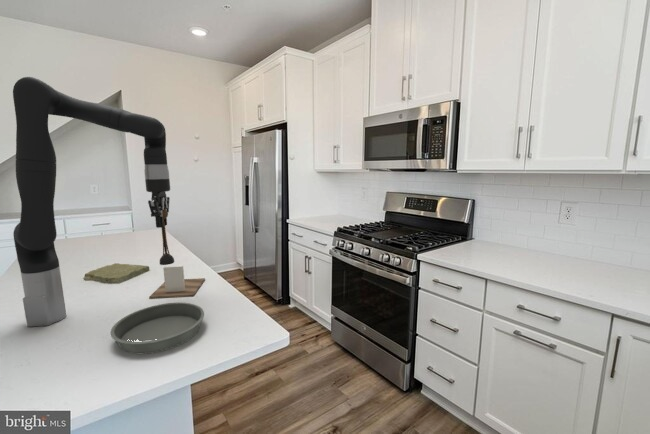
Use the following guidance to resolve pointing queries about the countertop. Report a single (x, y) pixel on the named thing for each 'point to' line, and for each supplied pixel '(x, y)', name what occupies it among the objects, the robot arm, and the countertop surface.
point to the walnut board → (190, 290)
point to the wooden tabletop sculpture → (165, 244)
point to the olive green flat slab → (116, 273)
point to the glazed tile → (174, 278)
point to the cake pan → (158, 327)
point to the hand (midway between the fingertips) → (161, 226)
